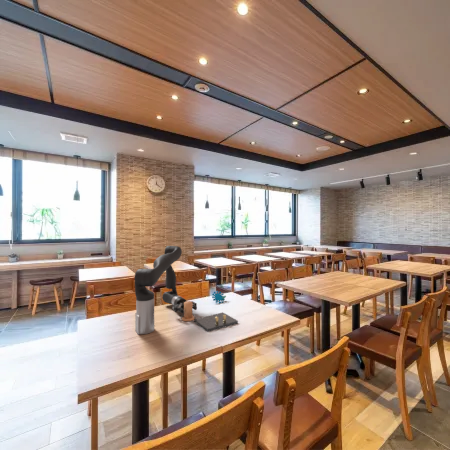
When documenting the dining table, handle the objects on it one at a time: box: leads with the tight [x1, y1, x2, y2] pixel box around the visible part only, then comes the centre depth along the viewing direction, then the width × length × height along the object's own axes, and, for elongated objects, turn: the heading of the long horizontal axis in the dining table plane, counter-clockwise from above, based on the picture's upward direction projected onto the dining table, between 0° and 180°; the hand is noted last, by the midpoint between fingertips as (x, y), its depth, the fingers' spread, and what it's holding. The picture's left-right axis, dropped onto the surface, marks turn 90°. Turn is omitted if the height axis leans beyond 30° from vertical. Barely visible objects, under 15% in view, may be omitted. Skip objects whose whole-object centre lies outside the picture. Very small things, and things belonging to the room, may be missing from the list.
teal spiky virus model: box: [211, 290, 227, 304], centre depth 179 cm, size 11×6×10 cm
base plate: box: [193, 312, 239, 333], centre depth 141 cm, size 20×16×6 cm
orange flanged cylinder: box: [181, 300, 196, 322], centre depth 146 cm, size 8×8×10 cm
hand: (189, 309), depth 145 cm, fingers open, 8 cm apart
